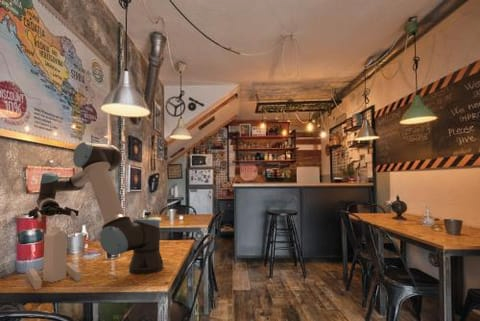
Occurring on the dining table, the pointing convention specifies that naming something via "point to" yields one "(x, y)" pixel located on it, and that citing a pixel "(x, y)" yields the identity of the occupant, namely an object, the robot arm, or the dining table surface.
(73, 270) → the brown piece
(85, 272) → the dining table surface
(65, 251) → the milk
